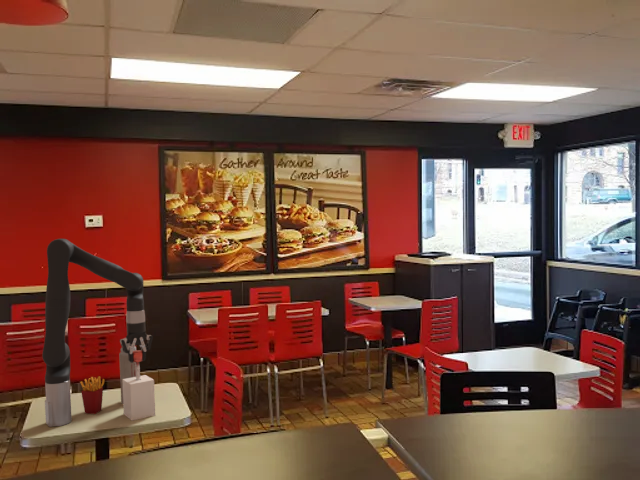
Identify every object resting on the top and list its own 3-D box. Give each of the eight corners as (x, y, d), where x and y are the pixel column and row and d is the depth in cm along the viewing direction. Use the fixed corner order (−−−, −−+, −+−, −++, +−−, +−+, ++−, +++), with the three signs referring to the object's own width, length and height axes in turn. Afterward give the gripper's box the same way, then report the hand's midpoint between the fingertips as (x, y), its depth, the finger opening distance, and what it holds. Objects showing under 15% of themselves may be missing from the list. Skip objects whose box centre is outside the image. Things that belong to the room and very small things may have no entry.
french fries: (95, 414, 254) (94, 379, 254) (78, 414, 256) (76, 379, 255) (107, 408, 263) (105, 374, 262) (90, 407, 265) (88, 373, 264)
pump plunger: (135, 400, 250) (133, 353, 249) (131, 398, 253) (130, 351, 252) (145, 398, 252) (144, 351, 251) (142, 396, 256) (140, 349, 255)
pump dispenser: (131, 420, 246) (130, 384, 245) (123, 414, 254) (122, 379, 253) (155, 415, 252) (154, 379, 251) (146, 409, 260) (145, 374, 259)
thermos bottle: (143, 400, 272) (141, 339, 270) (128, 405, 265) (125, 342, 264) (132, 397, 277) (130, 337, 275) (117, 402, 270) (115, 340, 269)
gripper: (121, 324, 244) (123, 366, 245) (155, 320, 252) (157, 360, 253) (115, 322, 250) (117, 362, 251) (149, 317, 258) (150, 357, 259)
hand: (137, 361), depth 252 cm, fingers closed on pump plunger, 4 cm apart
